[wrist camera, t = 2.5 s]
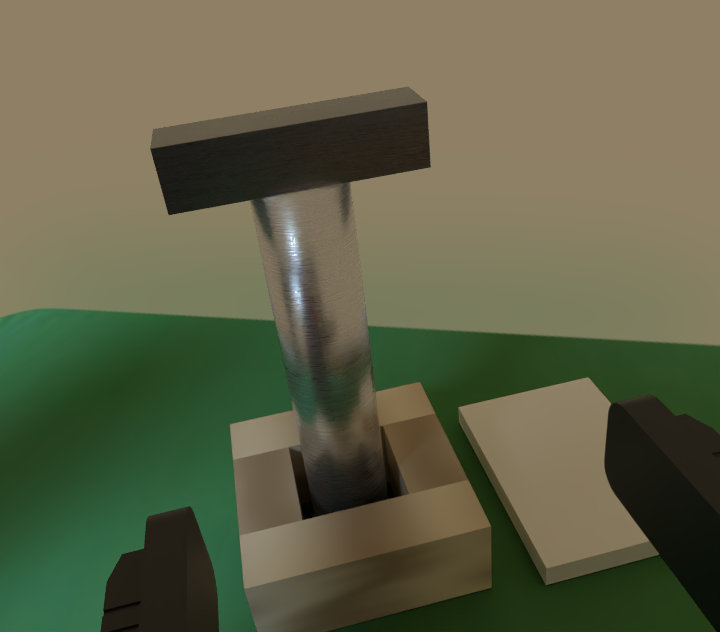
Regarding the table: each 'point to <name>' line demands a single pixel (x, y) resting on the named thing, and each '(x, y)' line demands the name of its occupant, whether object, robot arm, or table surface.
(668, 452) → the robot arm
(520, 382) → the table surface
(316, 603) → the slot block
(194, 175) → the t key
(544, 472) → the beige flat plate
